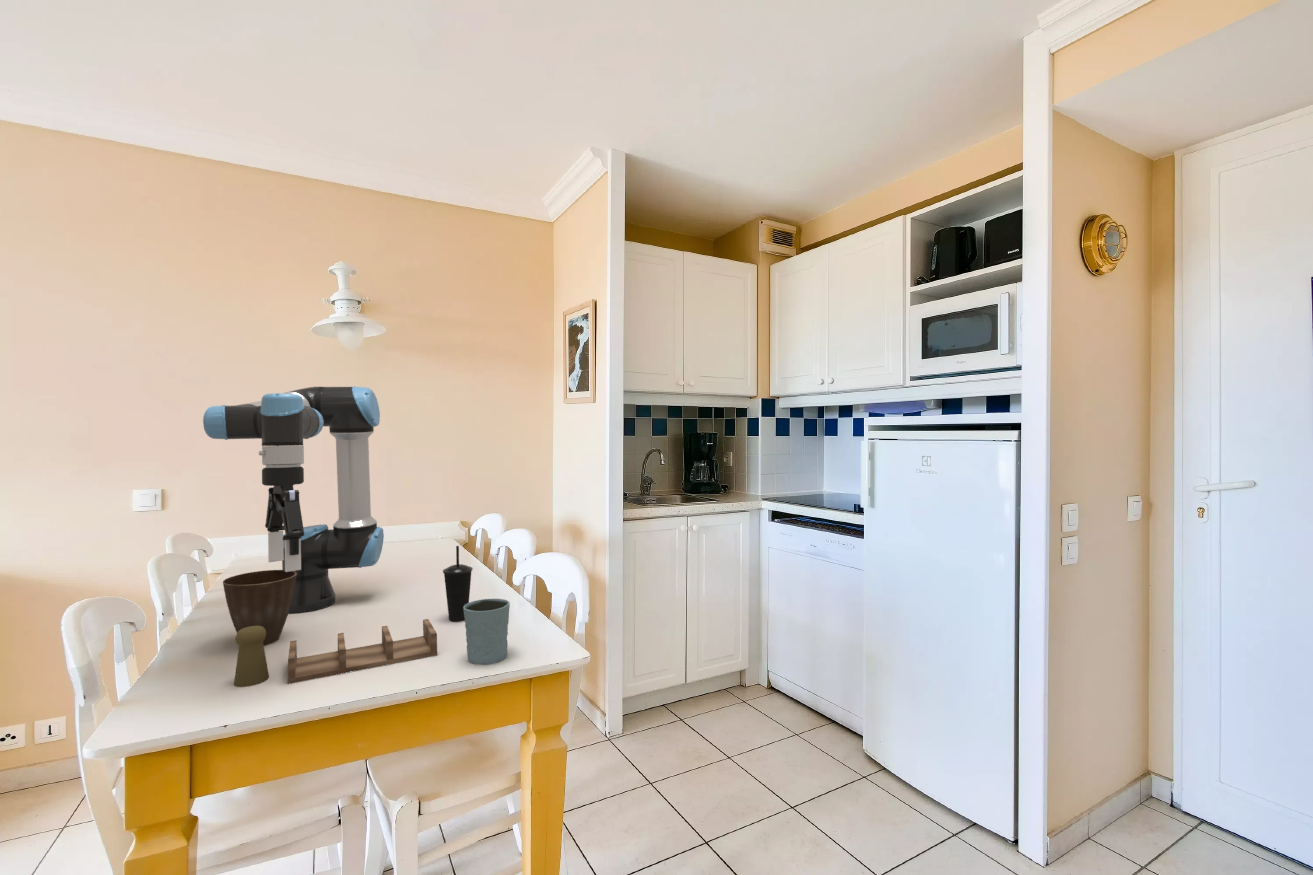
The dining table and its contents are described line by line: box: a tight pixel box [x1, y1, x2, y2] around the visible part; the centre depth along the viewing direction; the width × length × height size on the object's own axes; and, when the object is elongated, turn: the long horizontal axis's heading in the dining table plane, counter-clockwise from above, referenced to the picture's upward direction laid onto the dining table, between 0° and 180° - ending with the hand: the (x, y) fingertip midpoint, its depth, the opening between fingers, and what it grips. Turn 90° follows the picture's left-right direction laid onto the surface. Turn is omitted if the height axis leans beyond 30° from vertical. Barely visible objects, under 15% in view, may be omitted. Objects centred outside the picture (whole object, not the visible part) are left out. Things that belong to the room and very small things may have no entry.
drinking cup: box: [442, 545, 474, 623], centre depth 158 cm, size 8×8×20 cm
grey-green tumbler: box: [463, 598, 511, 666], centre depth 132 cm, size 10×10×12 cm
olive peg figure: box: [233, 626, 270, 688], centre depth 120 cm, size 6×6×11 cm
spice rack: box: [287, 618, 438, 685], centre depth 131 cm, size 12×29×5 cm, turn 120°
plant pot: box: [222, 569, 297, 646], centre depth 143 cm, size 15×15×16 cm
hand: (284, 565), depth 124 cm, fingers open, 13 cm apart
